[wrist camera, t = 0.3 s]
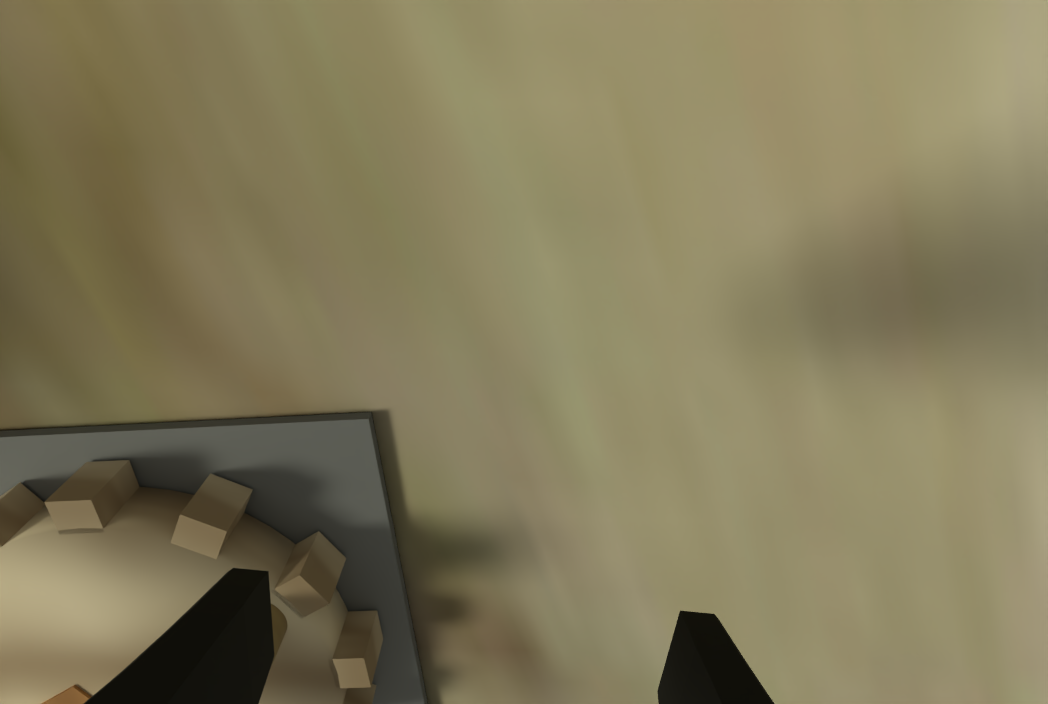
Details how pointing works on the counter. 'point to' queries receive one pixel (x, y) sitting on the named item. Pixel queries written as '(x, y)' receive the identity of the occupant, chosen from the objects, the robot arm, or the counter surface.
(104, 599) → the sprocket
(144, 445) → the index plate
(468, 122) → the counter surface
